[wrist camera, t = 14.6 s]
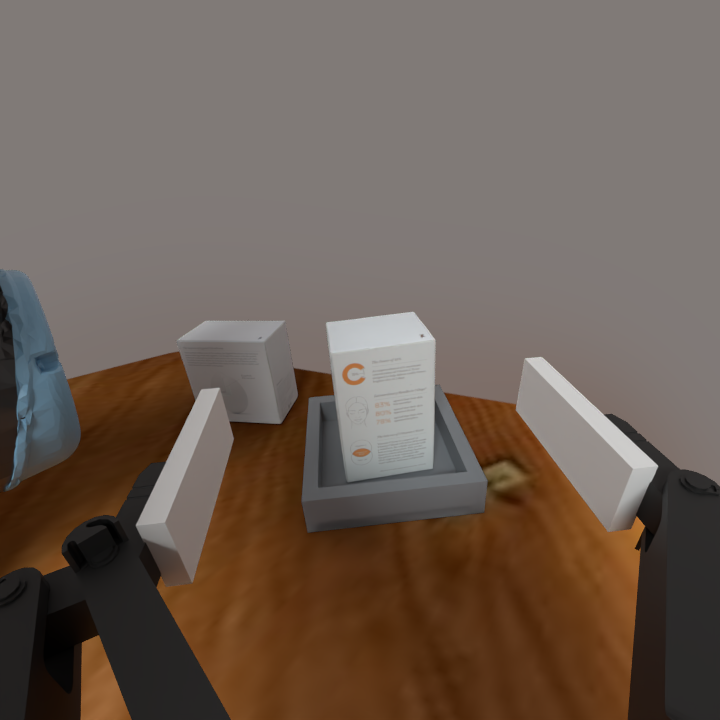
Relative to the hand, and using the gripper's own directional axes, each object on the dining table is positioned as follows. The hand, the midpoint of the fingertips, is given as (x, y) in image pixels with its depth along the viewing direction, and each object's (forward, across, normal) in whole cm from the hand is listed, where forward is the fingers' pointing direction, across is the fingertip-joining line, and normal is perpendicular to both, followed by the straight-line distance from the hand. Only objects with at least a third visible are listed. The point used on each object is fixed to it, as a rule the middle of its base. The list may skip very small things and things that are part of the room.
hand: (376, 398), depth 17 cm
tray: (+14, +2, -17) cm, 22 cm away
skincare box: (+26, -13, -18) cm, 34 cm away
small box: (+14, +2, -16) cm, 22 cm away
